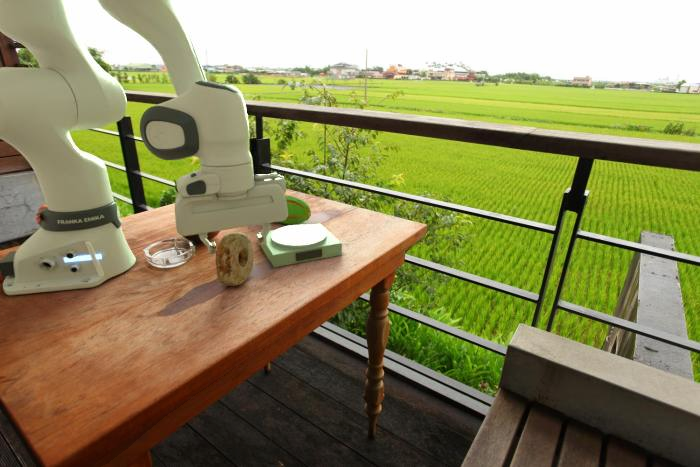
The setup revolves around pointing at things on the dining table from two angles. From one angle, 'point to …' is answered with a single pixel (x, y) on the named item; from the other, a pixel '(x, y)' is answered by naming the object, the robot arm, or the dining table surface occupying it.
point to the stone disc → (234, 259)
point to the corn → (296, 211)
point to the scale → (300, 244)
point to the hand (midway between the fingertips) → (237, 248)
